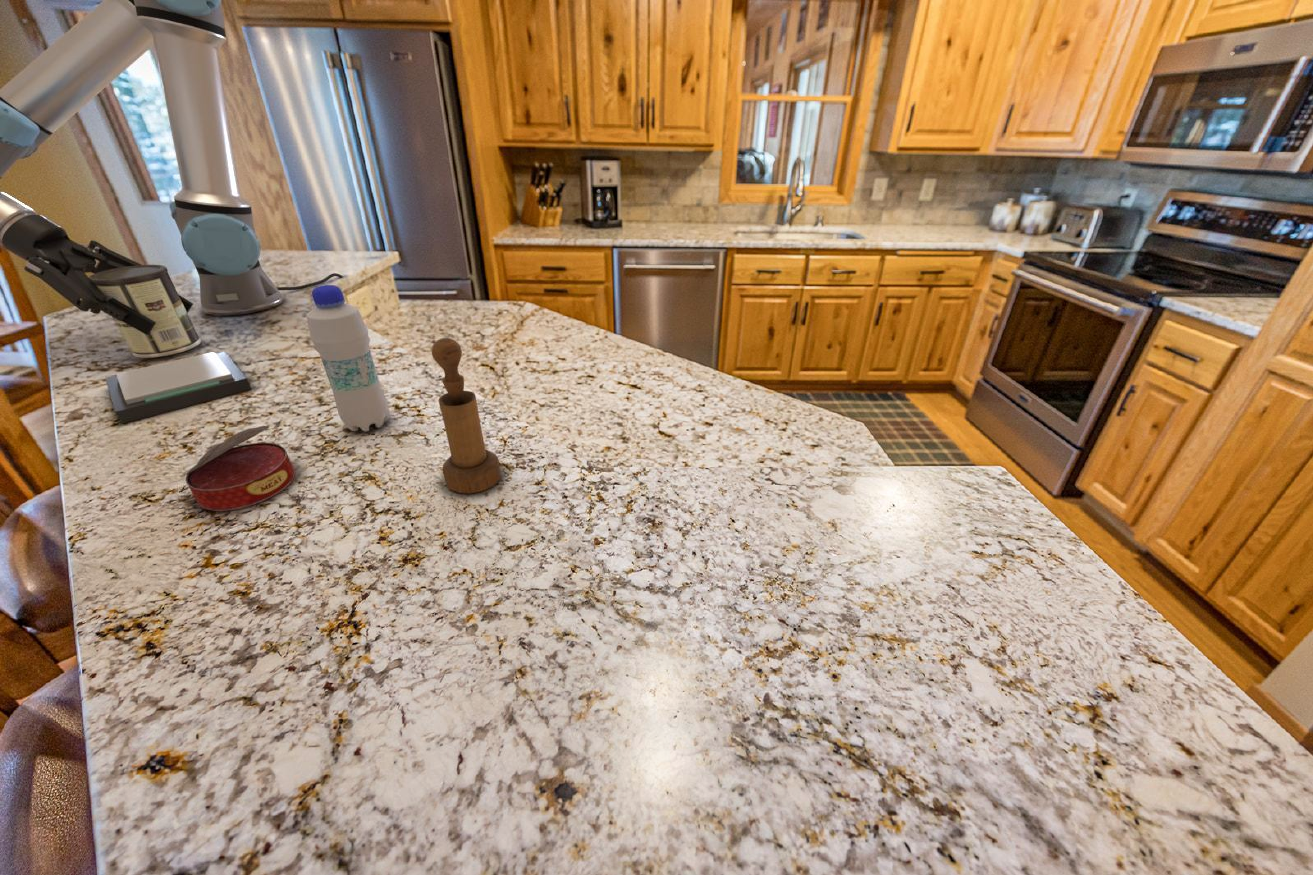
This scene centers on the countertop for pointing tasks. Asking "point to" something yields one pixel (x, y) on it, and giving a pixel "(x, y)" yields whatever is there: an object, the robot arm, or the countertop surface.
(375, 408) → the bottle
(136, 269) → the coffee can
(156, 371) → the scale
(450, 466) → the mortar and pestle
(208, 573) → the countertop surface
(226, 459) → the canned food
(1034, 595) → the countertop surface
